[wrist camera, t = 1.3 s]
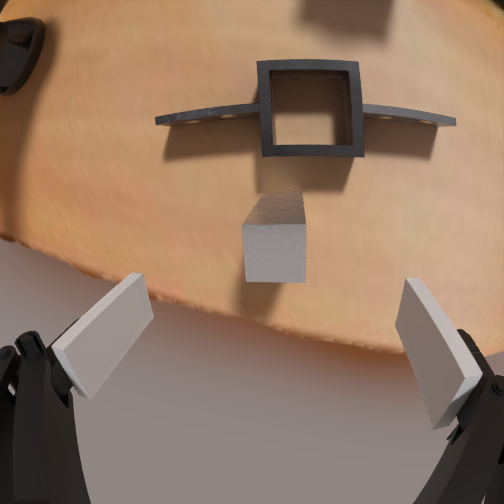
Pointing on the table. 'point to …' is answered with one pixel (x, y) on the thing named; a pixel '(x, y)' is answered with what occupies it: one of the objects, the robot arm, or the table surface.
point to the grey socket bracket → (309, 70)
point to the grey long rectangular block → (275, 239)
